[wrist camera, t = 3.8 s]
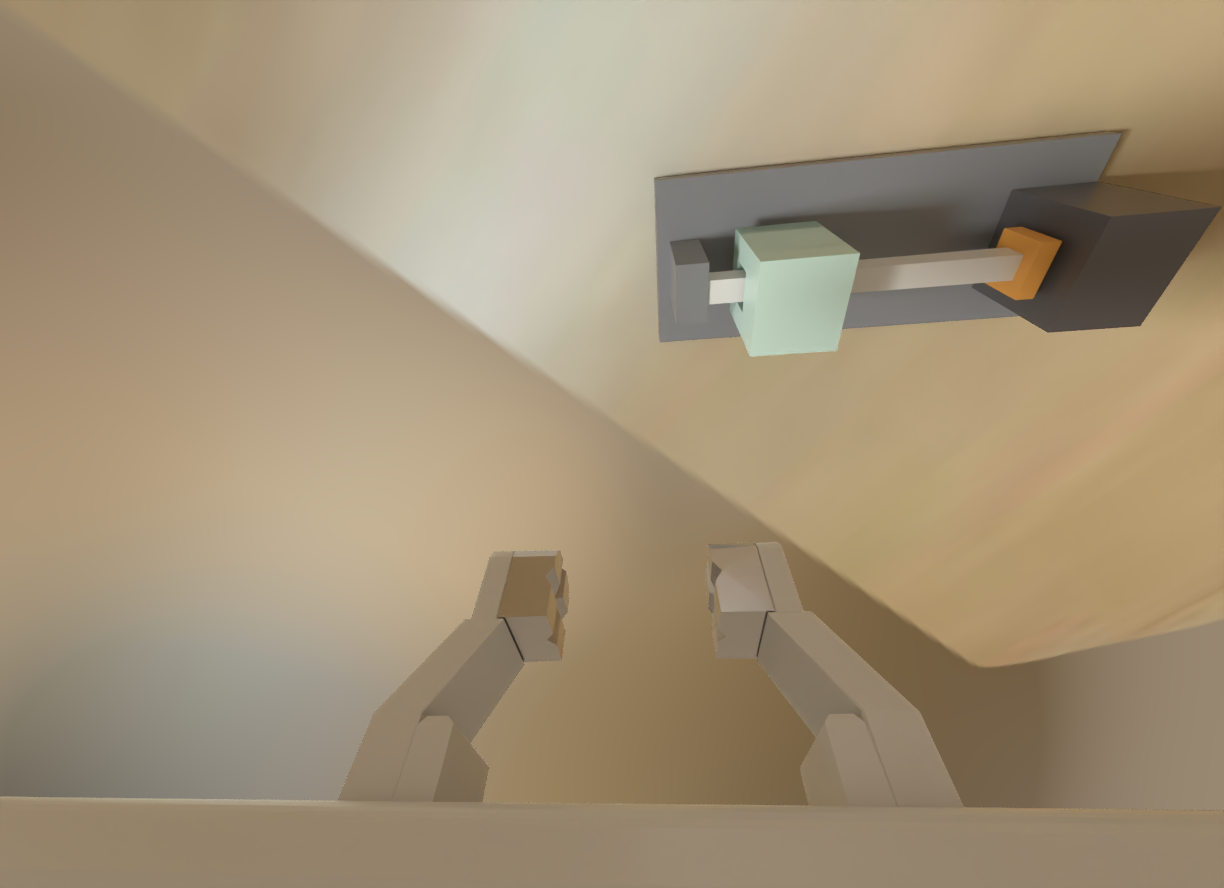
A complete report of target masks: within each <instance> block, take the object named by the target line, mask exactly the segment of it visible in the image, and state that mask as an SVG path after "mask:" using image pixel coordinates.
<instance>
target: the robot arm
mask: <svg viewBox="0 0 1224 888" xmlns="http://www.w3.org/2000/svg"><path fill="white" fill-rule="evenodd" d="M707 561H708V566H707V567H706V575H705V576H706V577H705V578H706V593H707V601H708V608H709V610H710V611H711V612H712V613H713V614H712V634H713V640H714V647H715V653H716V658H751V659H752V658H755V659H757V662H758V663H759V664H760V666H761V667H762V668H763V670H764V671H765V672H766V673H767V675H768V676H769V677H770V679H771V680H772V681H773V682H774V684H775V685H776V686H777V688H778V689H779V690H780V692H781V693H782V694H783V695H784V697H785V698H786V699H787V701H788V702H789V703H790V705H791V706H792V707H793V708H794V710H795V711H796V712H797V714H798V715H799V716H800V717H801V719H802V720H803V721H804V723H805V724H806V725H807V727H808V728H809V729H810V730H811V732H812V733H813V734H814V736H815V737H816V739H815V741H814V743H813V745H812V747H811V749H810V751H809V752H808V754H807V756H806V758H805V760H804V762H803V764H802V766H801V767H800V771H801V775H802V779H803V784H804V788H805V792H806V796H807V800H808V804H809V806H784V805H782V806H779V805H691V804H603V803H602V804H601V803H599V804H597V803H596V804H595V803H510V802H506V803H505V802H482V801H483V796H484V791H485V786H486V780H487V775H488V770H489V767H488V765H487V763H486V761H485V760H484V758H483V757H482V756H481V755H480V754H479V752H478V751H477V750H476V749H475V748H474V746H473V745H472V744H471V741H472V740H473V738H474V737H475V735H476V734H477V733H478V731H479V729H480V728H481V727H482V725H483V724H484V722H485V721H486V719H487V718H488V717H489V715H490V714H491V712H492V711H493V709H494V708H495V706H496V705H497V704H498V702H499V701H500V699H501V698H502V696H503V694H504V693H505V692H506V691H507V689H508V688H509V686H510V685H511V683H512V682H513V680H514V679H515V677H516V676H517V674H518V673H519V672H520V670H521V669H522V667H523V666H524V662H537V661H559V660H562V654H563V647H564V639H565V638H564V637H565V628H564V625H563V621H562V618H563V617H564V616H565V615H566V614H567V612H568V603H569V584H568V577H567V573H566V571H565V570H563V569H562V564H563V558H562V555H561V551H505V552H504V551H502V552H493V554H492V555H491V557H490V558H489V562H488V565H487V568H486V571H485V575H484V578H483V581H482V585H481V588H480V592H479V595H478V598H477V602H476V605H475V608H474V612H473V615H472V618H471V619H465V620H464V621H463V622H462V623H461V624H460V625H459V626H458V627H457V628H456V629H455V630H454V631H453V632H452V633H451V634H450V635H449V636H448V637H447V638H446V639H445V640H444V641H443V643H441V645H439V646H438V648H437V649H436V650H435V651H434V652H433V653H432V654H431V655H430V656H429V657H428V658H427V659H426V660H425V661H424V662H423V663H422V664H421V665H420V666H419V667H418V668H417V669H416V670H415V671H414V672H413V673H412V674H411V675H410V676H409V678H407V680H406V681H405V682H404V683H403V684H402V685H401V686H400V687H399V688H398V689H397V690H396V691H395V692H394V693H393V694H392V695H391V696H390V697H389V698H388V699H387V700H386V701H385V702H384V703H383V704H382V705H381V706H380V707H379V709H378V710H376V712H375V713H374V714H373V716H372V718H371V721H370V724H369V726H368V728H367V731H366V733H365V735H364V738H363V740H362V743H361V745H360V748H359V750H358V752H357V755H356V757H355V760H354V762H353V765H352V767H351V769H350V772H349V774H348V777H347V779H346V782H345V784H344V787H343V789H342V791H341V794H340V797H339V799H338V801H332V800H330V801H329V800H328V801H327V800H240V799H238V800H237V799H150V798H141V799H140V798H60V797H58V798H57V797H55V798H54V797H0V888H1224V810H1147V809H1141V810H1140V809H1057V808H1053V809H1052V808H1051V809H1050V808H966V807H964V806H963V804H962V802H961V800H960V798H959V796H958V793H957V792H956V789H955V787H954V785H953V783H952V780H951V778H950V776H949V774H948V772H947V770H946V768H945V765H944V763H943V761H942V759H941V757H940V755H939V753H938V751H937V748H936V746H935V744H934V742H933V740H932V737H931V735H930V733H929V731H928V729H927V727H926V724H925V722H924V720H923V718H922V716H921V714H920V712H919V711H918V710H917V709H916V708H915V707H914V706H913V705H912V704H911V703H910V702H909V701H907V700H906V699H905V698H904V697H903V696H902V695H901V694H900V693H899V692H898V691H897V690H896V689H894V688H893V687H892V686H891V685H890V684H889V683H888V682H887V681H886V680H885V679H884V678H882V677H881V676H880V675H879V674H878V673H877V672H876V671H875V670H874V669H873V668H872V667H871V666H870V665H868V664H867V663H866V662H865V661H864V660H863V659H862V658H861V657H860V656H859V655H858V654H857V653H856V652H855V651H853V650H852V649H851V648H850V647H849V646H848V645H847V644H846V643H845V642H844V641H843V640H842V639H841V638H839V637H838V636H837V635H836V634H835V633H834V632H833V631H832V630H831V629H830V628H829V627H827V625H825V624H824V623H823V622H822V621H821V620H820V619H819V618H818V617H817V616H815V614H814V613H812V612H811V611H804V610H803V607H802V604H801V602H800V599H799V596H798V593H797V590H796V587H795V584H794V581H793V578H792V575H791V572H790V569H789V566H788V563H787V560H786V557H785V554H784V551H783V548H782V546H781V545H780V543H779V542H762V543H753V542H747V543H728V544H708V546H707Z"/></svg>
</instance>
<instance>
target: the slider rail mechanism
mask: <svg viewBox="0 0 1224 888" xmlns="http://www.w3.org/2000/svg"><path fill="white" fill-rule="evenodd" d="M1121 134H1122V133H1117V132H1106V131H1103V132H1093V133H1084V134H1074V135H1064V136H1055V137H1045V138H1035V139H1025V140H1016V141H1006V142H996V143H987V144H977V145H967V146H958V147H948V148H938V149H929V150H919V151H909V152H899V153H890V154H880V155H870V156H861V157H851V158H841V159H832V160H822V161H812V162H803V163H793V164H783V165H773V166H764V167H754V168H744V169H735V170H725V171H715V172H706V173H696V174H686V175H677V176H667V177H657V178H654V188H655V221H656V253H657V286H658V319H659V340H660V342H670V341H683V340H697V339H711V338H725V337H738V336H741V335H740V333H739V331H738V328H737V326H736V324H735V322H734V319H733V317H732V315H731V313H730V303H734V302H743V300H744V289H745V279H746V271H745V270H733V257H734V243H735V229H736V228H744V227H755V226H766V225H777V224H787V223H798V222H809V221H817V222H818V223H819V224H821V225H822V226H824V227H825V228H826V229H828V230H829V231H830V232H832V233H833V234H835V235H836V236H837V237H839V238H840V239H841V240H843V241H844V242H846V243H847V244H848V245H850V246H851V247H852V248H854V249H855V250H857V251H858V252H859V253H860V257H859V261H858V265H857V269H856V273H855V277H854V281H853V285H852V290H851V294H850V298H849V302H848V306H847V310H846V314H845V318H844V323H843V327H842V329H848V328H862V327H876V326H890V325H903V324H917V323H931V322H944V321H958V320H972V319H986V318H999V317H1013V316H1021V317H1022V318H1024V319H1026V320H1027V321H1029V322H1031V323H1032V324H1034V325H1036V326H1038V327H1039V328H1041V329H1043V330H1044V331H1046V332H1062V331H1076V330H1091V329H1105V328H1119V327H1134V326H1141V324H1142V323H1143V321H1144V320H1145V318H1146V317H1147V315H1148V314H1149V312H1150V311H1151V309H1152V308H1153V307H1154V305H1155V304H1156V302H1157V301H1158V299H1159V298H1160V296H1161V295H1162V293H1163V292H1164V290H1165V289H1166V288H1167V286H1168V285H1169V283H1170V282H1171V280H1172V279H1173V277H1174V276H1175V274H1176V273H1177V271H1178V270H1179V269H1180V267H1181V266H1182V264H1183V263H1184V261H1185V260H1186V258H1187V257H1188V255H1189V254H1190V252H1191V251H1192V250H1193V248H1194V247H1195V245H1196V244H1197V242H1198V241H1199V239H1200V238H1201V236H1202V235H1203V233H1204V232H1205V230H1206V229H1207V228H1208V226H1209V225H1210V223H1211V222H1212V220H1213V219H1214V217H1215V216H1216V214H1217V213H1218V211H1219V210H1220V209H1221V207H1219V206H1215V205H1210V204H1205V203H1200V202H1195V201H1190V200H1185V199H1180V198H1176V197H1171V196H1166V195H1161V194H1156V193H1151V192H1146V191H1141V190H1137V189H1132V188H1127V187H1122V186H1117V185H1112V184H1107V183H1102V182H1098V179H1099V177H1100V175H1101V174H1102V172H1103V170H1104V168H1105V166H1106V164H1107V162H1108V160H1109V158H1110V156H1111V154H1112V152H1113V150H1114V148H1115V146H1116V144H1117V142H1118V140H1119V138H1120V136H1121ZM732 270H733V271H732Z"/></svg>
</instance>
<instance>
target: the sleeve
mask: <svg viewBox="0 0 1224 888" xmlns="http://www.w3.org/2000/svg"><path fill="white" fill-rule="evenodd" d="M859 257H860V253H859V252H858V251H857V250H855V249H854V248H852V247H851V246H850V245H848V244H847V243H846V242H844V241H843V240H841V239H840V238H839V237H837V236H836V235H835V234H833V233H832V232H830V231H829V230H828V229H826V228H825V227H824V226H822V225H821V224H819V223H818V222H817V221H809V222H798V223H787V224H777V225H766V226H755V227H744V228H736V229H735V243H734V257H733V270H745V271H746V279H745V289H744V300H743V302H734V303H730V313H731V315H732V317H733V319H734V322H735V324H736V326H737V328H738V331H739V333H740V335H741V337H742V340H743V342H744V344H745V346H746V349H747V351H748V353H749V355H750V357H752V356H767V355H781V354H796V353H810V352H825V351H837V347H838V343H839V339H840V335H841V331H842V327H843V323H844V318H845V314H846V310H847V306H848V302H849V298H850V294H851V290H852V285H853V281H854V277H855V273H856V269H857V265H858V261H859ZM733 270H732V271H733Z"/></svg>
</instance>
